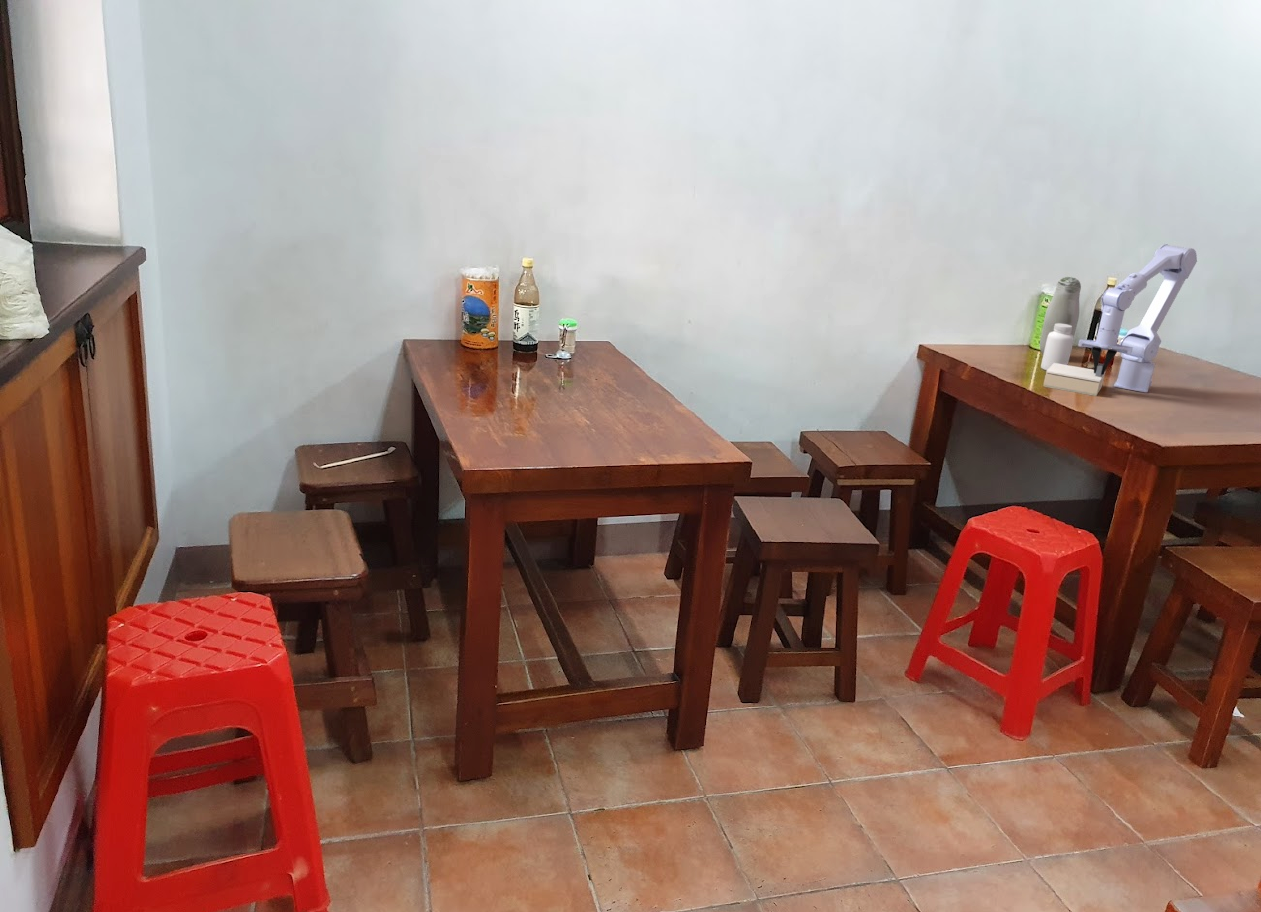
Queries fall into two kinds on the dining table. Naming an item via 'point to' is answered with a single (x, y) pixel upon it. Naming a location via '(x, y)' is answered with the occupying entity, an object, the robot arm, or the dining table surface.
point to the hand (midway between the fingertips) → (1098, 373)
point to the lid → (1077, 372)
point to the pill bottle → (1058, 346)
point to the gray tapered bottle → (1062, 308)
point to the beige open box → (1073, 384)
